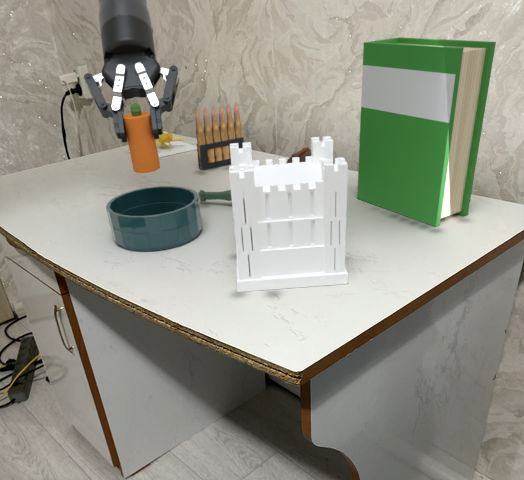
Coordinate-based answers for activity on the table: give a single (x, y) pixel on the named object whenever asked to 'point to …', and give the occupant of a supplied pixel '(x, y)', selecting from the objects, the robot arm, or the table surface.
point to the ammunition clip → (217, 137)
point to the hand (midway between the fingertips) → (140, 137)
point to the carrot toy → (141, 140)
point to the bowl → (154, 218)
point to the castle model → (289, 219)
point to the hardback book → (422, 124)
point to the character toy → (171, 145)
